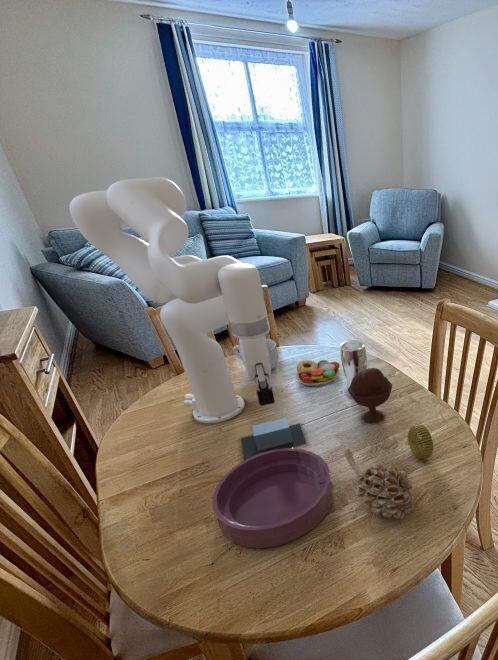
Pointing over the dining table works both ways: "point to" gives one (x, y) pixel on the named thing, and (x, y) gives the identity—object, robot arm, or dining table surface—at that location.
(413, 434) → the sculpture
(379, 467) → the pine cone
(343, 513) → the dining table surface
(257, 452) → the rubber mat
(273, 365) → the teacup
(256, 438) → the block
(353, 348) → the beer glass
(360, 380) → the ice cream bowl
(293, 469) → the serving bowl
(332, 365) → the toy food set
